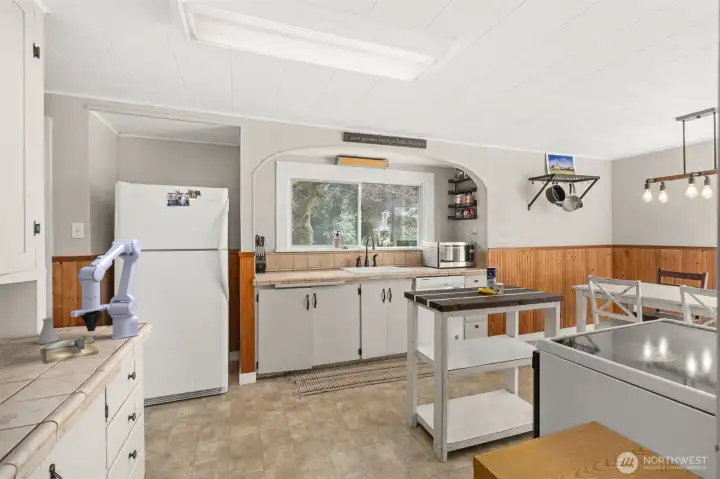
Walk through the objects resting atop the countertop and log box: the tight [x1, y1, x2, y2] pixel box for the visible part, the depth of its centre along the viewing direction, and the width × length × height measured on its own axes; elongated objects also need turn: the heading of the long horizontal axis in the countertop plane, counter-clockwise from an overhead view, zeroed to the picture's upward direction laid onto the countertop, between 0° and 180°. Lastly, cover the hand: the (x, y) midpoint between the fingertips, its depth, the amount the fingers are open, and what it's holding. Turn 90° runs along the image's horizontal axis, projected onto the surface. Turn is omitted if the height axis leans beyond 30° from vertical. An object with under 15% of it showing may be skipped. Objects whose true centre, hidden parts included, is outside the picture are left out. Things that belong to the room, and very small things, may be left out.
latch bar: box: [73, 338, 85, 350], centre depth 137 cm, size 11×3×2 cm, turn 43°
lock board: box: [44, 334, 99, 364], centre depth 138 cm, size 15×22×4 cm
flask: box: [35, 317, 60, 345], centre depth 149 cm, size 7×7×10 cm
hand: (91, 330), depth 139 cm, fingers closed
